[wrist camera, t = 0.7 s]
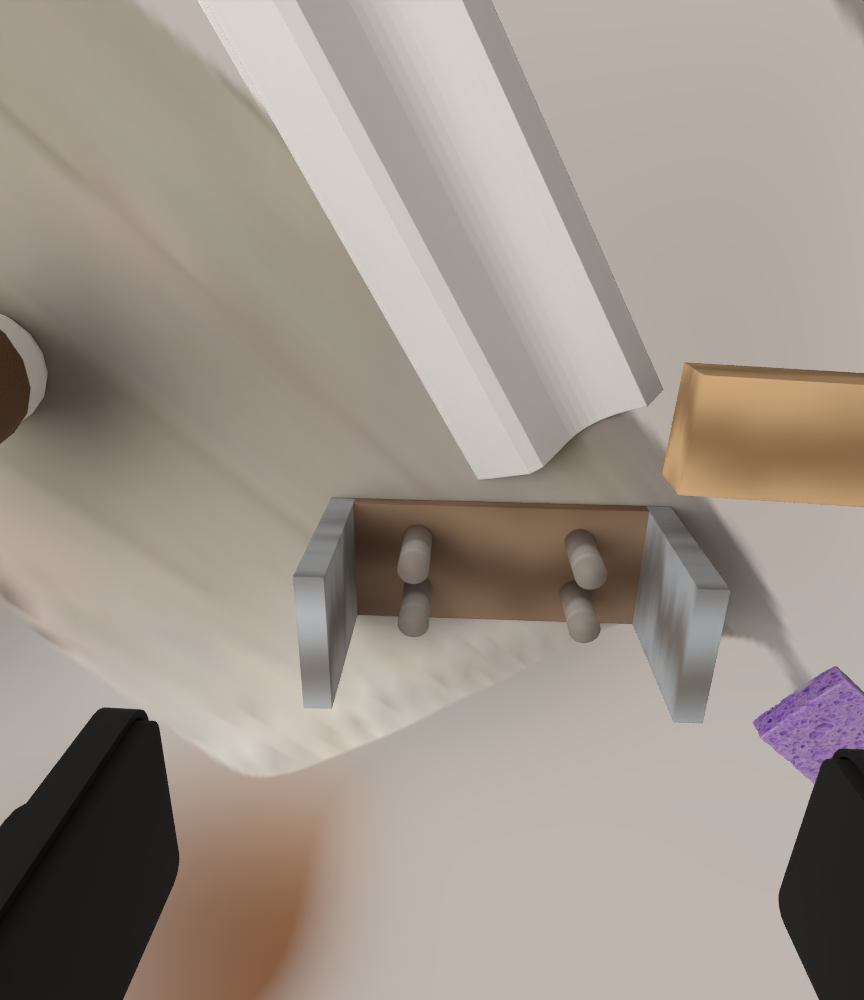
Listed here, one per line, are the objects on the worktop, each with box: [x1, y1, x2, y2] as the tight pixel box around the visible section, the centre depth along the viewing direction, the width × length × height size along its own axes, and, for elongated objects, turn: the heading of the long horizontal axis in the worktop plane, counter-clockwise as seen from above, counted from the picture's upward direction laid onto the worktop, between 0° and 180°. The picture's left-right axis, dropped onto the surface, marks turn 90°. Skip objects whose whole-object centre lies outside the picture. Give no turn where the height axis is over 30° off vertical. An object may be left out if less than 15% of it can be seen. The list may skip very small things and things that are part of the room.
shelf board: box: [662, 363, 864, 507], centre depth 33 cm, size 6×16×3 cm, turn 87°
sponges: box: [753, 666, 864, 784], centre depth 47 cm, size 7×13×2 cm, turn 48°
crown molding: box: [198, 0, 663, 480], centre depth 33 cm, size 31×12×4 cm, turn 29°
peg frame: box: [293, 498, 731, 723], centre depth 38 cm, size 8×21×10 cm, turn 89°
